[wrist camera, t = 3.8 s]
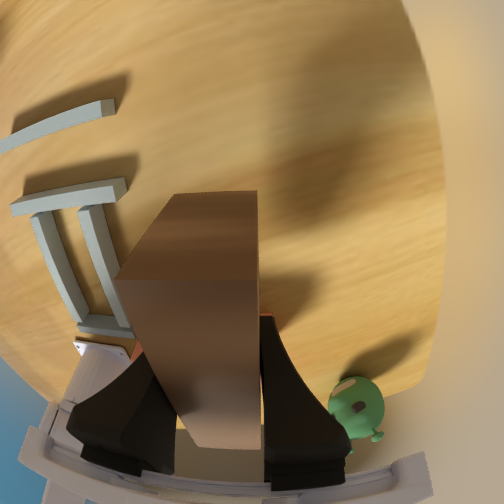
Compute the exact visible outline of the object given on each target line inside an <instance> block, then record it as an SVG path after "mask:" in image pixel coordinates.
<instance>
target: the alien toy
mask: <svg viewBox="0 0 504 504" xmlns="http://www.w3.org/2000/svg"><path fill="white" fill-rule="evenodd" d="M328 412H329V413H330V414H331V415H332V416H333V417H334V418H335V419H336V420H337V421H338V422H339V423H340V424H342V425H343V426H344V428H345V430H346V432H347V434H348V436H349V439H350V442H352V439H361V438H364V437H367V436H369V435H371V434H372V433H373V434H374V435H373V437H372V441H379V440H381V439H382V437H383V435H384V432H377V431H376V430H377V428H378V427H379V426H380V424H381V422H382V419H383V416H384V400H383V397H382V394H381V392H380V390H379V388H378V387H377V386H376V384H375V383H373V382H372V381H371V380H369V379H367V378H365V377H361V376H353V377H349V378H346V379H344V380H342V381H341V382H339V383H338V384H337V385H336V386H335V388H334V389H333V391H332V393H331V395H330V397H329V400H328ZM353 452H354V449H353V448H352V450H351V451H350V453H349V454H351V453H353Z"/></svg>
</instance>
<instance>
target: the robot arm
mask: <svg viewBox="0 0 504 504" xmlns="http://www.w3.org/2000/svg"><path fill="white" fill-rule="evenodd" d="M259 337H260V375H261V384H262V394H263V404H264V483H245V482H244V483H242V482H223V481H210V480H200V479H192V478H184V477H178V476H172V474H173V473H174V450H175V432H176V421H177V413H176V411H175V409H174V408H173V406H172V404H171V403H170V401H169V399H168V397H167V396H166V394H165V392H164V390H163V388H162V387H161V385H160V383H159V381H158V379H157V377H156V375H155V373H154V371H153V370H152V368H151V366H150V364H149V362H148V360H147V358H146V355H145V353H144V351H143V352H142V353H141V354H140V355H139V356H138V357H137V359H136V360H135V361H134V362H133V363H132V362H131V360H130V358H129V356H128V355H127V353H126V351H125V349H124V348H122V347H119V346H111V345H104V344H98V343H91V342H85V341H79V340H74V342H73V343H74V345H75V346H76V348H77V350H78V351H79V353H80V354H81V356H82V357H81V359H80V361H79V363H78V365H77V367H76V370H75V372H74V374H73V376H72V378H71V380H70V383H69V385H68V387H67V390H66V392H65V394H64V396H63V399H62V401H61V402H60V403H58V402H57V401H54V402H49V404H48V406H47V409H46V411H45V413H44V415H43V418H42V421H41V423H40V426H39V428H38V429H37V428H35V427H33V426H29V429H28V431H27V434H26V437H25V439H24V442H23V445H22V448H21V451H20V454H19V457H18V461H19V462H21V463H22V464H24V465H25V466H27V467H28V468H30V469H32V470H33V471H35V472H37V473H38V474H40V475H42V476H43V477H45V478H47V479H48V480H47V484H46V488H45V492H44V495H43V499H42V503H41V504H85V500H86V498H87V499H89V500H92V501H94V502H96V503H99V504H212V503H203V502H196V501H189V500H183V499H177V498H170V497H165V496H160V495H158V493H157V492H154V491H152V490H149V489H147V488H144V487H143V486H142V485H139V484H136V483H132V482H129V481H127V480H124V479H128V480H132V481H135V482H139V483H143V484H147V485H152V486H157V487H161V488H166V489H171V490H177V491H183V492H190V493H198V494H206V495H217V496H232V497H280V498H270V499H263V500H262V504H414V503H416V502H419V501H422V500H424V499H427V498H429V497H431V496H433V489H432V484H431V480H430V475H429V471H428V466H427V462H426V458H425V454H424V452H423V451H422V452H419V453H416V454H413V455H410V456H407V457H403V458H401V459H398V460H396V461H394V462H393V463H392V464H391V465H387V466H384V467H380V468H375V469H372V470H367V471H363V472H358V473H353V474H347V475H345V474H344V473H345V472H344V466H345V457H346V456H347V455H348V454H349V453H350V451H351V450H352V446H351V442H350V439H349V436H348V434H347V432H346V430H345V428H344V426H343V425H342V424H340V423H339V422H338V421H337V420H336V419H335V418H334V417H333V416H332V415H331V414H330V413H329V412H328V411H327V410H326V409H325V408H324V407H323V405H322V404H321V403H320V402H319V401H318V400H317V398H316V397H315V396H314V395H313V393H312V392H311V391H310V390H309V388H308V387H307V385H306V384H305V383H304V381H303V380H302V378H301V377H300V375H299V374H298V372H297V370H296V369H295V367H294V365H293V363H292V362H291V360H290V358H289V356H288V354H287V352H286V350H285V348H284V345H283V343H282V341H281V339H280V336H279V333H278V330H277V327H276V324H275V319H274V317H273V316H259ZM123 478H124V479H123ZM298 495H299V496H298ZM282 496H290V497H282ZM297 496H298V497H297Z"/></svg>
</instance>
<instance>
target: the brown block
mask: <svg viewBox="0 0 504 504" xmlns="http://www.w3.org/2000/svg"><path fill="white" fill-rule="evenodd" d="M114 282H115V285H116V288H117V290H118V293H119V296H120V298H121V301H122V303H123V306H124V308H125V311H126V313H127V316H128V318H129V320H130V323H131V325H132V327H133V330H134V332H135V334H136V336H137V338H138V341H139V343H140V345H141V347H142V349H143V351H144V353H145V355H146V358H147V360H148V362H149V364H150V366H151V368H152V370H153V371H154V373H155V375H156V377H157V379H158V381H159V383H160V385H161V387H162V388H163V390H164V392H165V394H166V396H167V397H168V399H169V401H170V403H171V404H172V406H173V408H174V409H175V411H176V413H177V414H178V416H179V418H180V419H181V421H182V423H183V424H184V426H185V427H186V429H187V431H188V432H189V434H190V435H191V437H192V438H193V440H194V441H195V443H196V444H197V446H198V447H208V448H221V449H252V450H253V449H255V450H257V449H261V375H260V337H259V316H260V300H259V250H258V206H257V190H256V191H224V192H202V193H185V194H174V195H173V197H172V198H171V199H170V200H169V202H168V203H167V204H166V206H165V207H164V208H163V209H162V211H161V212H160V213H159V215H158V216H157V217H156V219H155V220H154V222H153V223H152V224H151V226H150V227H149V228H148V230H147V231H146V232H145V234H144V235H143V237H142V238H141V240H140V241H139V242H138V244H137V245H136V247H135V248H134V250H133V251H132V252H131V254H130V255H129V257H128V258H127V260H126V261H125V263H124V264H123V266H122V267H121V269H120V270H119V272H118V273H117V275H116V277H115V278H114Z"/></svg>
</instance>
